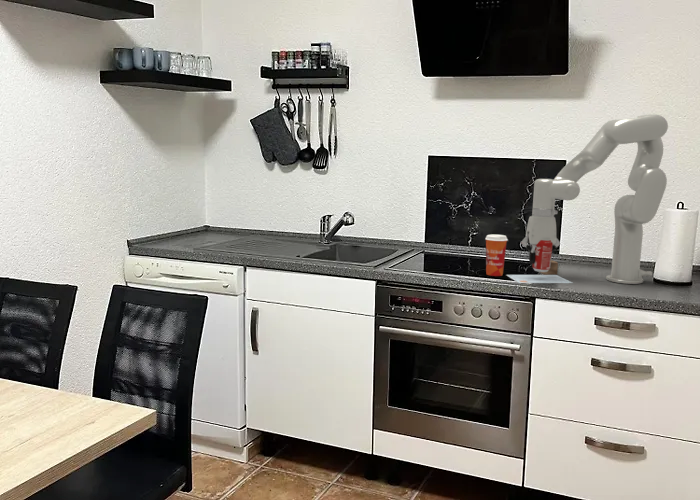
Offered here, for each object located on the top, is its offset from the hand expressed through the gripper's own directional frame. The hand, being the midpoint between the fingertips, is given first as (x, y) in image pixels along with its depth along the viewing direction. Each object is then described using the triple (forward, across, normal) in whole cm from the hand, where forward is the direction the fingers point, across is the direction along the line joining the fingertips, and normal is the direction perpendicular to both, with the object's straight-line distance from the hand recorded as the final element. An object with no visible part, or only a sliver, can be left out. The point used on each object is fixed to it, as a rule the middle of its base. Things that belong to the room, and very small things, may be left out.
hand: (539, 262), depth 253 cm
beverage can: (+3, -1, 0) cm, 3 cm away
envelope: (+6, 0, 0) cm, 6 cm away
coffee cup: (+7, +14, -8) cm, 17 cm away
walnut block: (+6, -8, -11) cm, 15 cm away
